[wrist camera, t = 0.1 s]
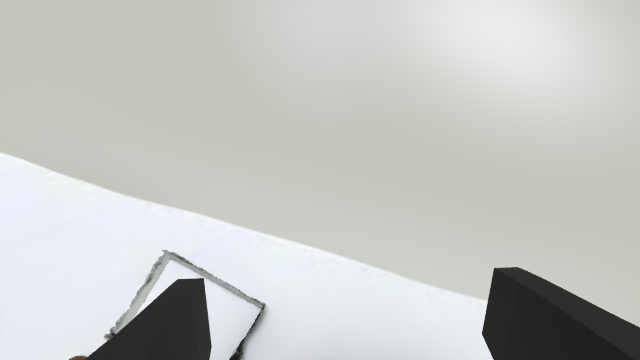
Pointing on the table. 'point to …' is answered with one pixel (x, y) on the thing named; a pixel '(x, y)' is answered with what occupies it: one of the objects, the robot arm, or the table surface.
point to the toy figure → (78, 358)
